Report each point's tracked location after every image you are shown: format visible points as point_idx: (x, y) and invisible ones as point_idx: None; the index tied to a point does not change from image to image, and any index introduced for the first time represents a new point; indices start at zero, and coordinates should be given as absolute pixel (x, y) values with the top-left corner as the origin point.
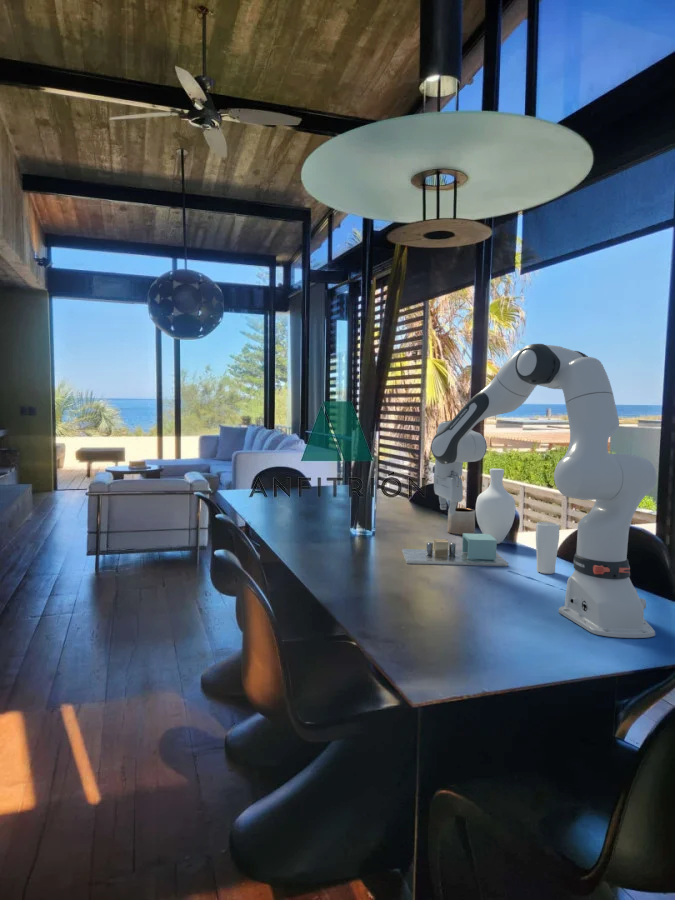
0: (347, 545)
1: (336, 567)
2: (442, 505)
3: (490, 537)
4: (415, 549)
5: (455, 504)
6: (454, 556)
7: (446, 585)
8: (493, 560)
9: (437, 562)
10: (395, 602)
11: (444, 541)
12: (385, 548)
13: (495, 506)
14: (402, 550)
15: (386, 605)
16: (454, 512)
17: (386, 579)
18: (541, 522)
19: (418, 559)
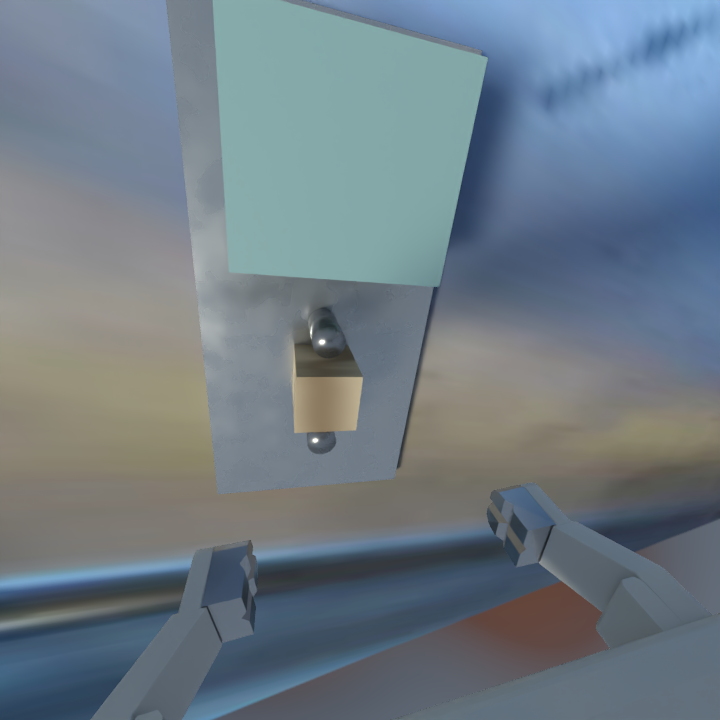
0: (157, 621)
1: (416, 591)
2: (251, 615)
3: (379, 64)
4: (218, 452)
5: (649, 575)
6: (337, 314)
7: (607, 391)
8: None
9: (410, 390)
10: (650, 485)
11: (350, 393)
12: (172, 533)
13: None
14: (229, 489)
15: (655, 496)
16: (541, 496)
17: None
18: None
19: (384, 448)
